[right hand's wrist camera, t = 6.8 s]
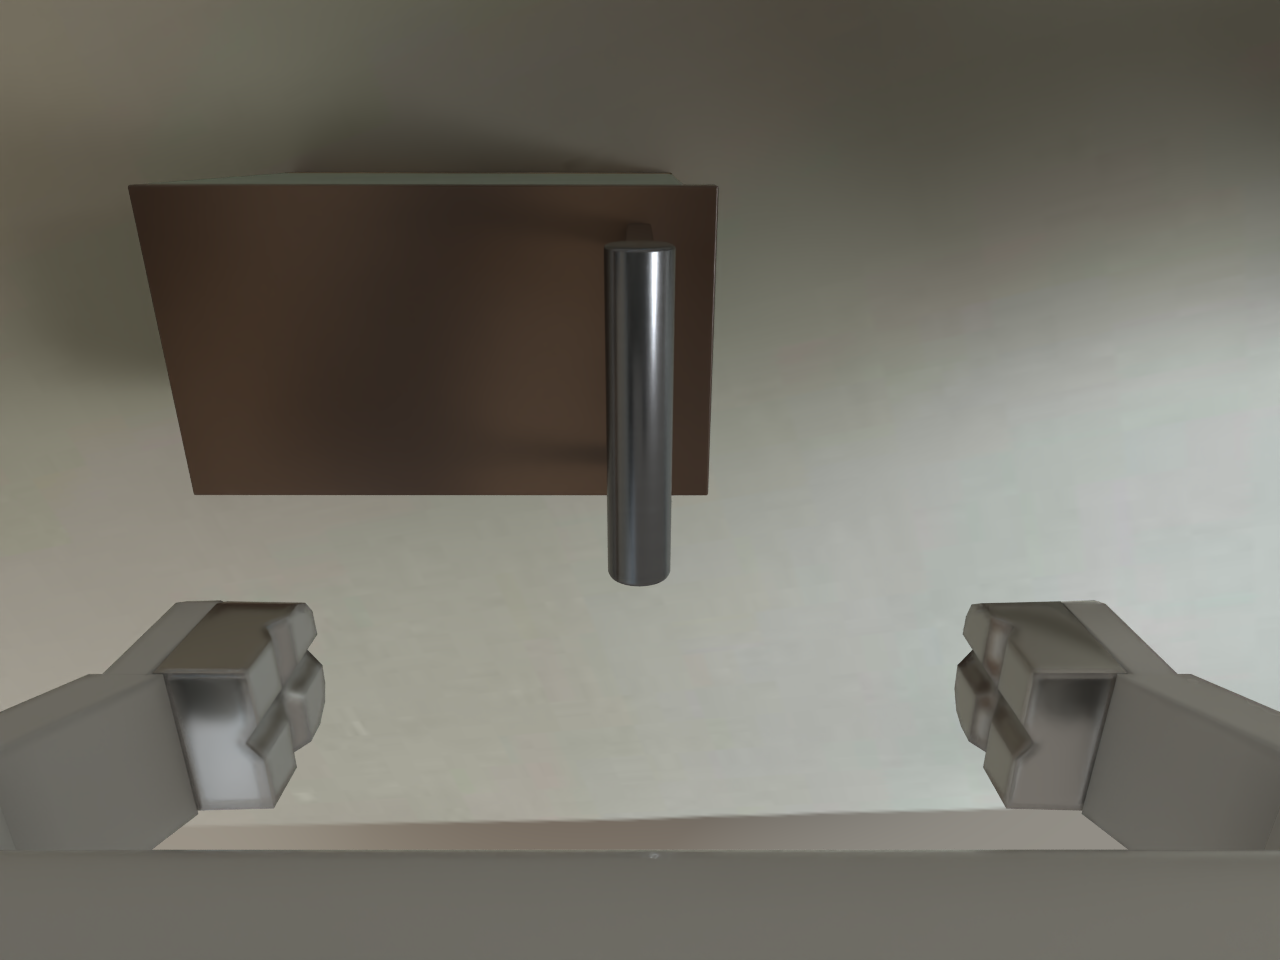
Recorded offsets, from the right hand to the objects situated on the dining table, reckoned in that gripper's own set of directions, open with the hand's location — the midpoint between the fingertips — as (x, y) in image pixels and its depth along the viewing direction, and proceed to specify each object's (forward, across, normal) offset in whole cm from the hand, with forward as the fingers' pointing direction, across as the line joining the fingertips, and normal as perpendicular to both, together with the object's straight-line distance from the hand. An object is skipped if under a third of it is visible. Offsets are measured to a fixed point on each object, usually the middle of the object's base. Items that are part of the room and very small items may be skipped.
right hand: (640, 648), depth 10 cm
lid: (+17, +6, 0) cm, 18 cm away
